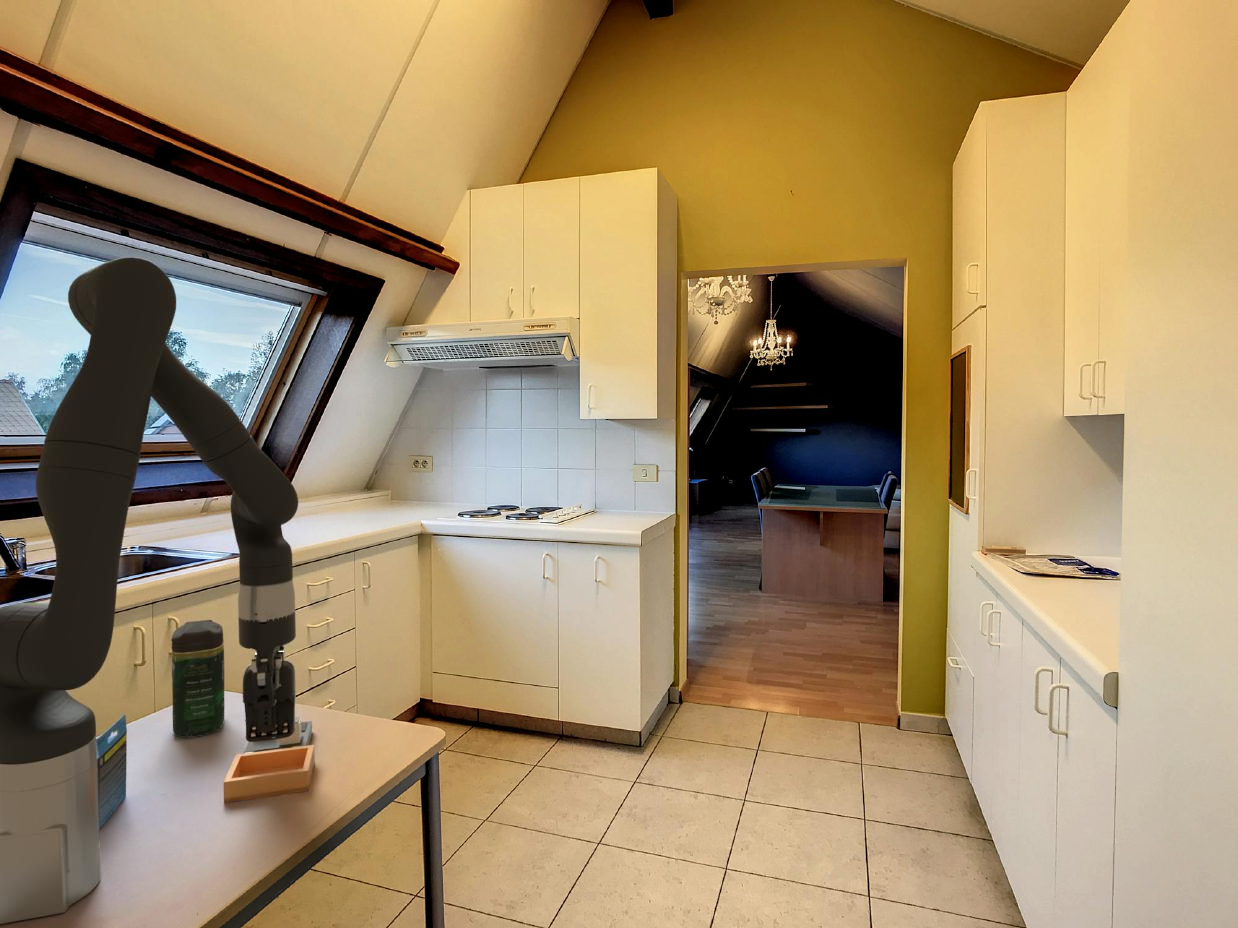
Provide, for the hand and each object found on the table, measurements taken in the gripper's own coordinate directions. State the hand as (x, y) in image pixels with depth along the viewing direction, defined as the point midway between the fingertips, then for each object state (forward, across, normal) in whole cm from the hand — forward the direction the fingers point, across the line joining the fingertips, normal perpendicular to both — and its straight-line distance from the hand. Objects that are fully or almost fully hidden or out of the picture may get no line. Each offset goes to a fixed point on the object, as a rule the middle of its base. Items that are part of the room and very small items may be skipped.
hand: (269, 723), depth 103 cm
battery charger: (+2, 0, 0) cm, 2 cm away
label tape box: (+9, +3, -21) cm, 23 cm away
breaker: (+7, -8, +2) cm, 11 cm away
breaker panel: (+9, -10, 0) cm, 14 cm away
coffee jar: (+9, -24, -15) cm, 30 cm away
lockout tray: (+9, 0, 0) cm, 9 cm away
